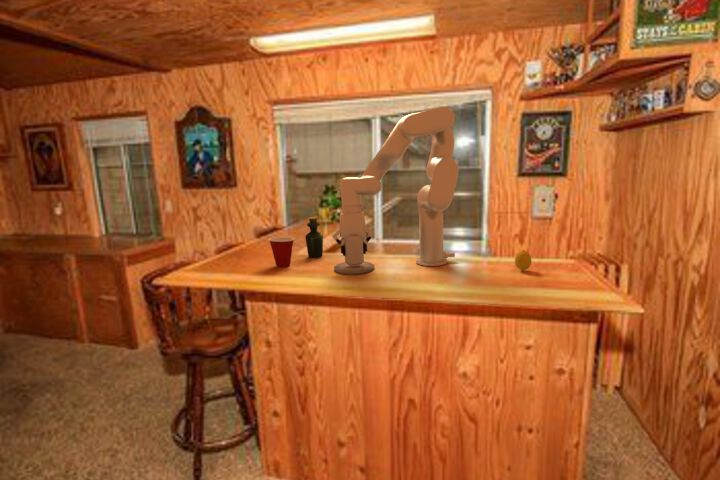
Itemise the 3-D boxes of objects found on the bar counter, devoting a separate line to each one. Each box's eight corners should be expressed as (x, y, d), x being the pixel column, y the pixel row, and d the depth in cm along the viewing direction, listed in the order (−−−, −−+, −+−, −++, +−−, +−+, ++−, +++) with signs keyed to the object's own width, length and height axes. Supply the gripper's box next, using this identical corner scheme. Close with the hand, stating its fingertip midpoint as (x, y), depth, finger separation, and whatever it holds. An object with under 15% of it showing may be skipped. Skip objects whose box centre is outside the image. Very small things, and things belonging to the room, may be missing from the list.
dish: (370, 262, 164) (370, 259, 164) (378, 272, 149) (378, 269, 149) (332, 265, 162) (332, 262, 162) (336, 276, 146) (336, 273, 146)
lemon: (530, 269, 145) (531, 248, 143) (531, 273, 140) (532, 251, 138) (514, 268, 146) (514, 248, 145) (514, 272, 141) (515, 251, 140)
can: (362, 266, 150) (360, 235, 148) (343, 266, 152) (341, 235, 150) (365, 261, 158) (364, 232, 155) (347, 261, 159) (346, 232, 157)
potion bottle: (303, 257, 179) (300, 218, 176) (317, 253, 185) (314, 216, 181) (313, 259, 174) (310, 219, 170) (327, 256, 179) (325, 217, 175)
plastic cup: (301, 264, 166) (299, 237, 163) (280, 270, 158) (278, 241, 156) (286, 261, 173) (284, 234, 171) (265, 266, 165) (263, 238, 163)
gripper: (372, 207, 156) (373, 250, 159) (328, 210, 153) (331, 254, 157) (375, 209, 148) (377, 254, 152) (330, 212, 146) (333, 258, 149)
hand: (354, 253), depth 154 cm, fingers closed on can, 7 cm apart
